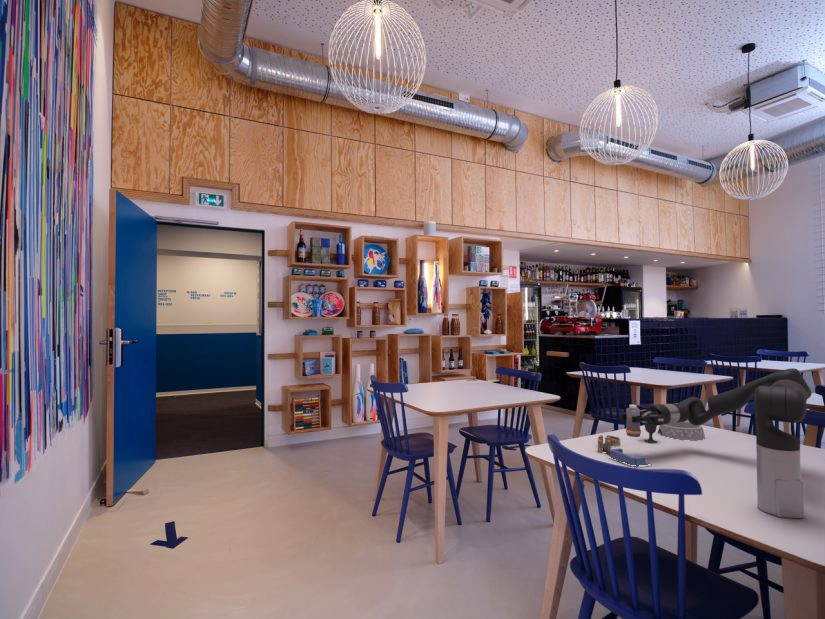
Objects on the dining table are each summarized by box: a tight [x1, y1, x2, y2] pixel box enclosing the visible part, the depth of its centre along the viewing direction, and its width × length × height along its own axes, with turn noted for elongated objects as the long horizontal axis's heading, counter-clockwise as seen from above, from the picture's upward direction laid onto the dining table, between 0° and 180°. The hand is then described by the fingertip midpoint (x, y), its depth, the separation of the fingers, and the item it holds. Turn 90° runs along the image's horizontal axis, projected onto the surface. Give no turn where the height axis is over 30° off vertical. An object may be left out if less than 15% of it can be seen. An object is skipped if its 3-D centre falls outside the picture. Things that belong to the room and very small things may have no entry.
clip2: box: [597, 434, 612, 449], centre depth 181 cm, size 4×3×4 cm
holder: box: [609, 447, 651, 468], centre depth 163 cm, size 8×12×3 cm, turn 20°
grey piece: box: [625, 404, 642, 438], centre depth 164 cm, size 5×5×11 cm
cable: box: [602, 442, 612, 455], centre depth 178 cm, size 16×4×1 cm, turn 155°
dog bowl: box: [657, 420, 706, 442], centre depth 200 cm, size 17×18×5 cm
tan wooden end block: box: [604, 434, 621, 448], centre depth 185 cm, size 4×4×3 cm
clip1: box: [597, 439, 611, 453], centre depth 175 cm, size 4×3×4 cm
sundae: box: [643, 423, 658, 444], centre depth 190 cm, size 7×7×15 cm
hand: (627, 418), depth 164 cm, fingers closed on grey piece, 4 cm apart
